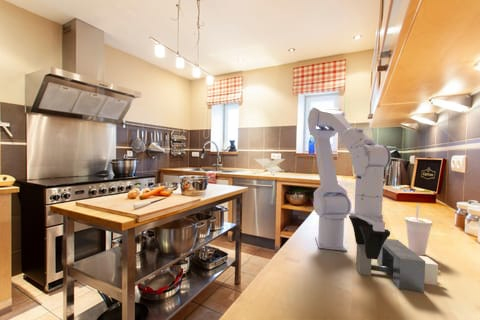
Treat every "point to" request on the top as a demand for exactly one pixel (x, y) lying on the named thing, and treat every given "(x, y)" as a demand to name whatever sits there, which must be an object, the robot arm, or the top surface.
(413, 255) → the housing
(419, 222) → the smoothie
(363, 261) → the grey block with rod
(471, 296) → the top surface
